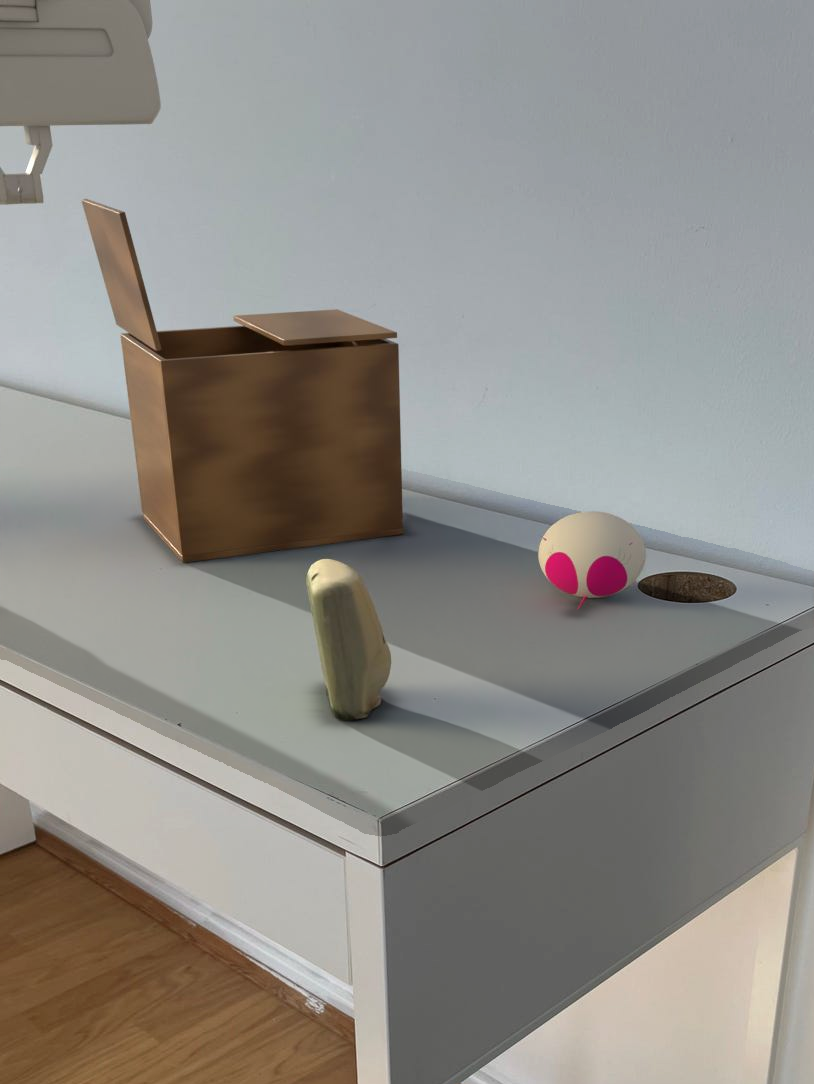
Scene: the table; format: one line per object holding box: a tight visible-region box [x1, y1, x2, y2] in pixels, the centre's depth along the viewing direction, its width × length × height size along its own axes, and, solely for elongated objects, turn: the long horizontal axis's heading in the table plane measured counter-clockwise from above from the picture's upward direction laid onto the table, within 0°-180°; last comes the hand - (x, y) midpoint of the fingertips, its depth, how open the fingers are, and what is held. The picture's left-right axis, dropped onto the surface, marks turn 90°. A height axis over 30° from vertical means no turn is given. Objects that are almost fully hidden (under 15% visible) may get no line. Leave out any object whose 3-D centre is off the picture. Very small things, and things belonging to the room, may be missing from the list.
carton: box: [119, 308, 404, 563], centre depth 104 cm, size 18×13×15 cm
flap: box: [81, 198, 161, 351], centre depth 95 cm, size 9×13×1 cm
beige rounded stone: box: [305, 558, 392, 721], centre depth 75 cm, size 6×5×8 cm
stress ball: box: [537, 510, 647, 609], centre depth 93 cm, size 8×8×7 cm
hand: (20, 203), depth 90 cm, fingers closed
